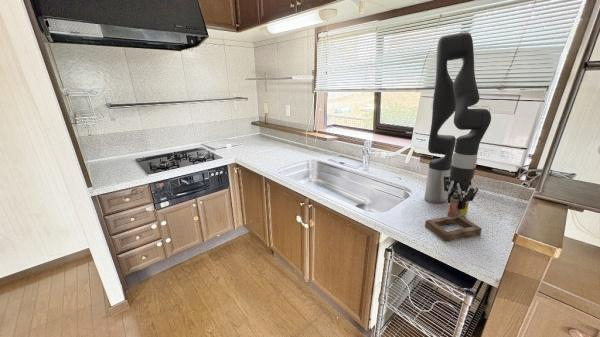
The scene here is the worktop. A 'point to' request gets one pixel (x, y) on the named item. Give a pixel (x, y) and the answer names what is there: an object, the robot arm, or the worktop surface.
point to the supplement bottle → (464, 210)
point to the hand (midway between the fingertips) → (455, 205)
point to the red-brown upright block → (454, 205)
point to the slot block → (446, 236)
